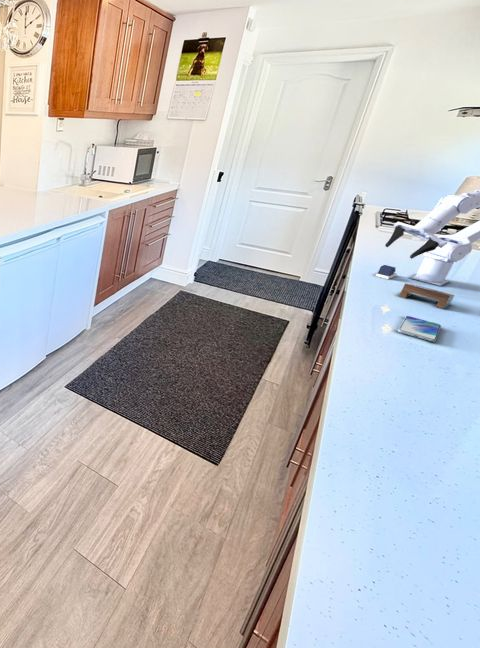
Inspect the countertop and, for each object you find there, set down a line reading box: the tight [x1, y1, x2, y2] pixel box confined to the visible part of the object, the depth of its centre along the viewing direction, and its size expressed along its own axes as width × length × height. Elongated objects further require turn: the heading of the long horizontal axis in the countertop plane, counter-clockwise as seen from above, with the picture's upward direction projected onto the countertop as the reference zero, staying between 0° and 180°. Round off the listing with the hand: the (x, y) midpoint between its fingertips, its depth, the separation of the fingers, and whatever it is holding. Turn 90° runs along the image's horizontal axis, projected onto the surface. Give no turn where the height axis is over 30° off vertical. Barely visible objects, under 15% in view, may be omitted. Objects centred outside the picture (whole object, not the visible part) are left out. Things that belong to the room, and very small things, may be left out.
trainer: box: [375, 264, 398, 280], centre depth 154 cm, size 8×4×4 cm, turn 120°
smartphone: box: [397, 315, 442, 343], centre depth 113 cm, size 7×1×15 cm
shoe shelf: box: [398, 283, 456, 310], centre depth 133 cm, size 7×10×5 cm
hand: (398, 251), depth 145 cm, fingers open, 7 cm apart
